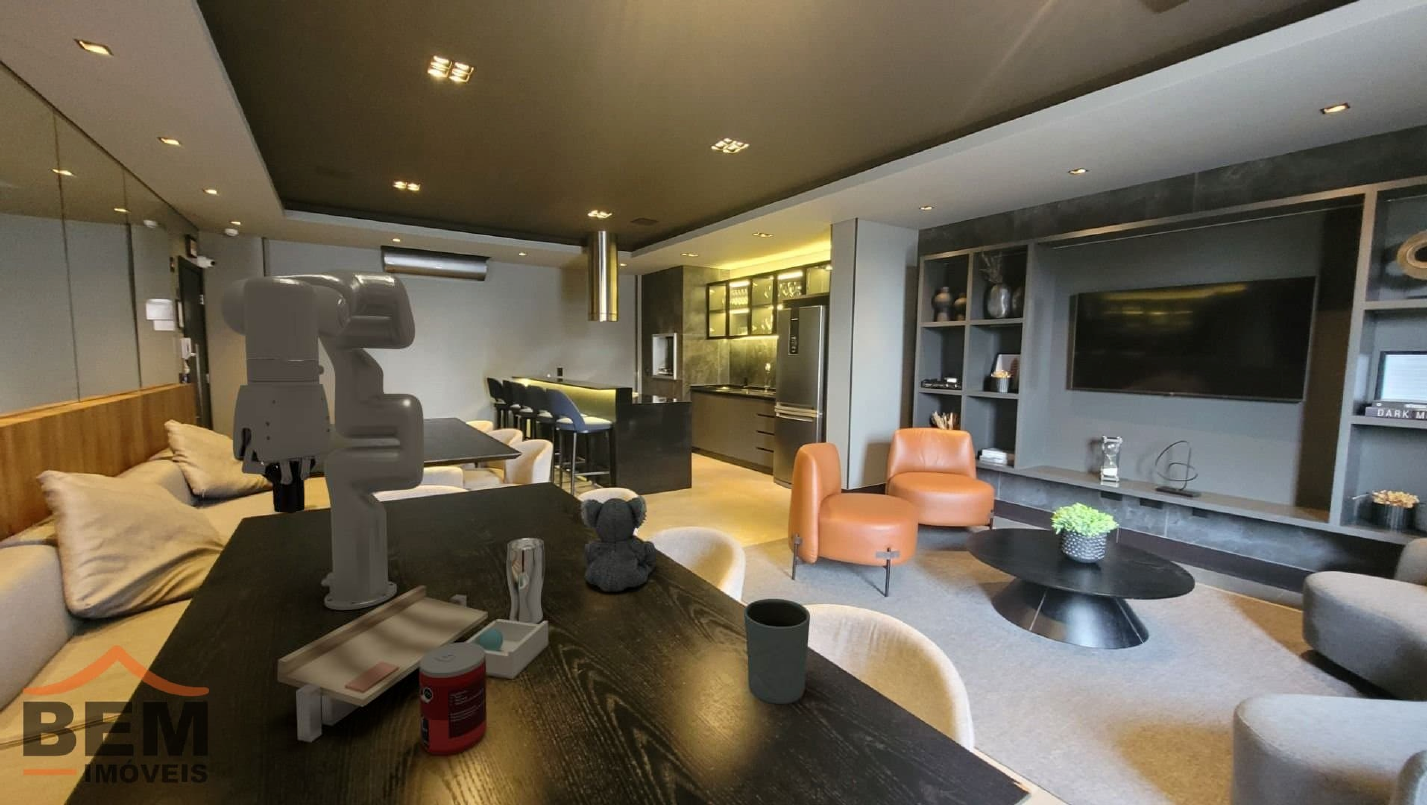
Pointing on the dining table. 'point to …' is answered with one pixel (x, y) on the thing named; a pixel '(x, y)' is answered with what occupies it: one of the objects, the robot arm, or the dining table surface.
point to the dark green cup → (776, 649)
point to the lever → (378, 647)
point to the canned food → (452, 697)
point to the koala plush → (617, 544)
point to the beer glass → (525, 579)
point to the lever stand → (327, 704)
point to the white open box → (514, 646)
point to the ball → (491, 640)
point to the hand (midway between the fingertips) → (289, 510)
